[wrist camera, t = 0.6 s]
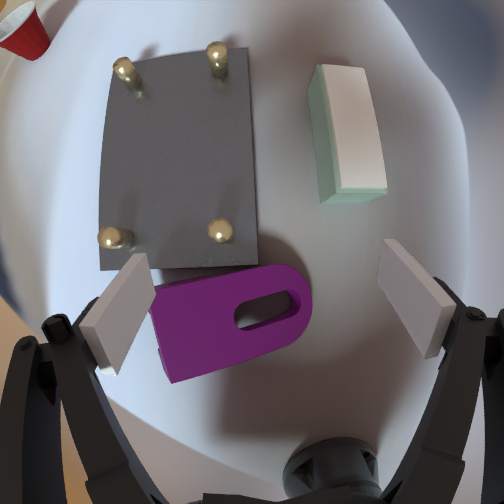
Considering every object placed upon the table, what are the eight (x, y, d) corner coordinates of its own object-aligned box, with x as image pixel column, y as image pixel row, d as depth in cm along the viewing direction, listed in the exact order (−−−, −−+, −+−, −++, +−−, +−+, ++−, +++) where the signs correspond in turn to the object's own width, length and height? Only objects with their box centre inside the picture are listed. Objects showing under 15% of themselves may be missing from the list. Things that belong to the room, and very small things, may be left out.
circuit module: (363, 203, 36) (391, 191, 28) (319, 204, 36) (338, 191, 28) (347, 94, 36) (365, 65, 28) (306, 92, 36) (318, 60, 28)
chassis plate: (257, 263, 36) (259, 266, 29) (105, 270, 36) (80, 273, 29) (246, 54, 36) (246, 26, 29) (117, 72, 35) (101, 50, 29)
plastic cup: (70, 26, 35) (44, -7, 23) (43, 68, 35) (9, 38, 23) (37, 32, 35) (11, 5, 23) (13, 72, 35) (-19, 48, 23)
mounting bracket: (269, 260, 42) (140, 288, 34) (304, 257, 34) (147, 291, 26) (281, 325, 42) (158, 361, 34) (317, 333, 34) (171, 383, 26)
